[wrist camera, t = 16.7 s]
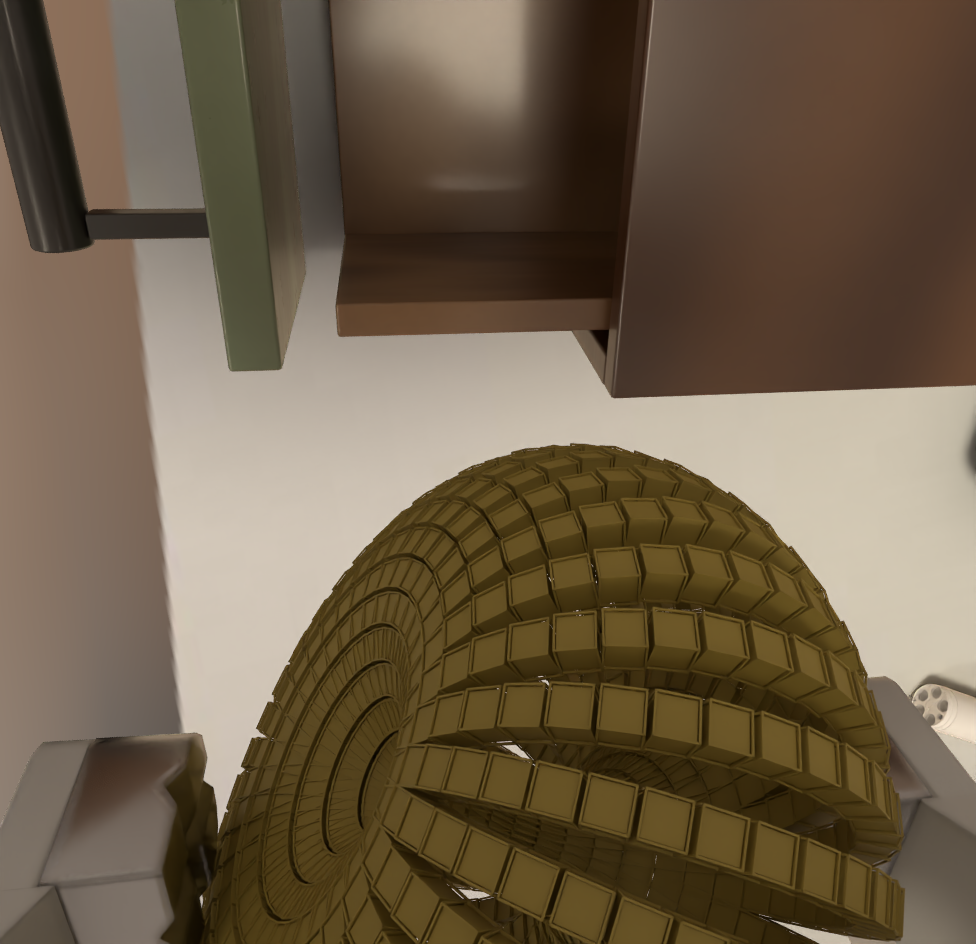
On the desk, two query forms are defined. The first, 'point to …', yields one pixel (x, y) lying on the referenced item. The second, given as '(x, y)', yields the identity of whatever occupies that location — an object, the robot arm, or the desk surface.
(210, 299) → the desk surface
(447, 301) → the drawer
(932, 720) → the white rod
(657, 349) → the cabinet
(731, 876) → the sculpture
